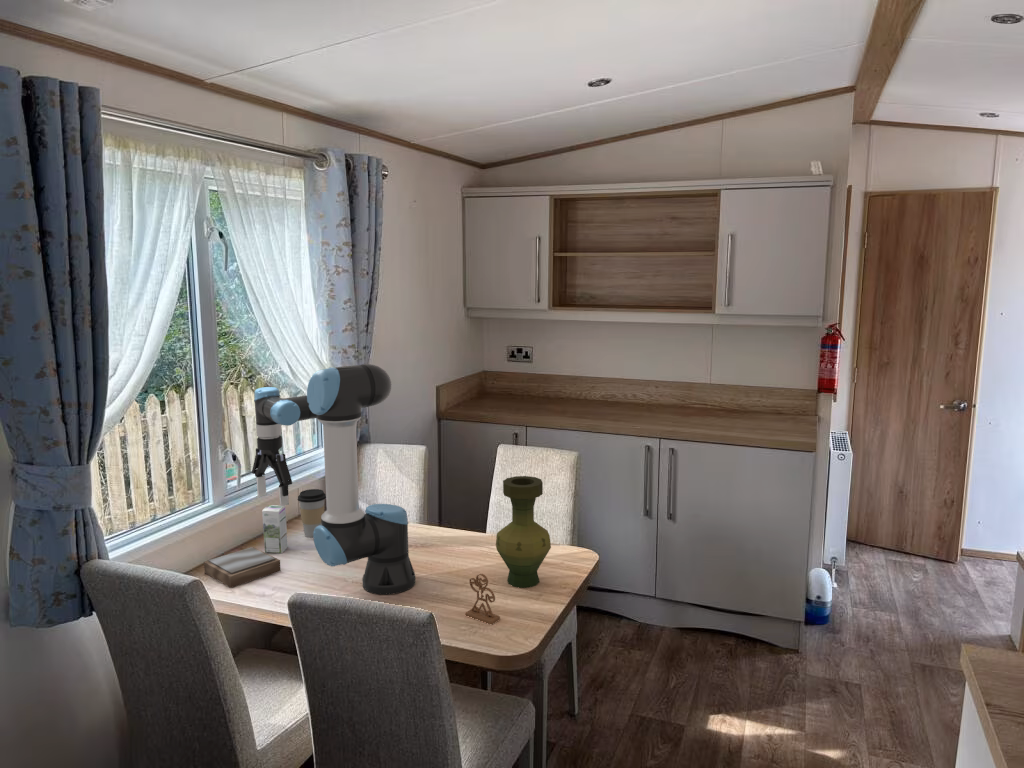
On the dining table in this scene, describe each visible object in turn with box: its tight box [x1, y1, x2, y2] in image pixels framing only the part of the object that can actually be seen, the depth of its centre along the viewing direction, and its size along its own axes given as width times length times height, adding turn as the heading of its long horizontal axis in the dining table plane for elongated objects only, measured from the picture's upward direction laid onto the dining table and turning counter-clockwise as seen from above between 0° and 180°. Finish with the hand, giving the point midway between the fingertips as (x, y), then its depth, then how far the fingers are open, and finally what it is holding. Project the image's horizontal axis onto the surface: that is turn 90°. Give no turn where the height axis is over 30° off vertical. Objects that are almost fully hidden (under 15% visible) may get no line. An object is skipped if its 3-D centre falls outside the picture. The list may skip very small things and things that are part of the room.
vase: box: [495, 475, 552, 589], centre depth 218 cm, size 16×16×30 cm
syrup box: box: [261, 504, 289, 554], centre depth 245 cm, size 6×6×14 cm
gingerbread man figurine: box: [464, 573, 501, 625], centre depth 198 cm, size 9×4×12 cm, turn 54°
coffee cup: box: [297, 488, 326, 539], centre depth 258 cm, size 9×9×15 cm
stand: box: [203, 546, 282, 589], centre depth 229 cm, size 16×16×4 cm
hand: (273, 500), depth 243 cm, fingers open, 13 cm apart
